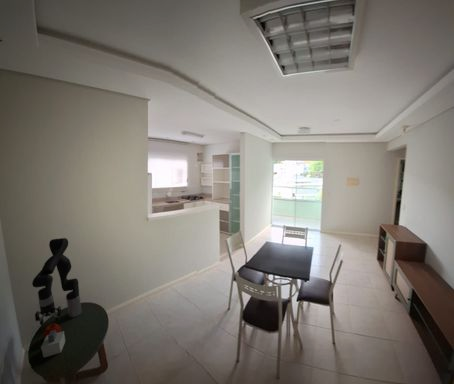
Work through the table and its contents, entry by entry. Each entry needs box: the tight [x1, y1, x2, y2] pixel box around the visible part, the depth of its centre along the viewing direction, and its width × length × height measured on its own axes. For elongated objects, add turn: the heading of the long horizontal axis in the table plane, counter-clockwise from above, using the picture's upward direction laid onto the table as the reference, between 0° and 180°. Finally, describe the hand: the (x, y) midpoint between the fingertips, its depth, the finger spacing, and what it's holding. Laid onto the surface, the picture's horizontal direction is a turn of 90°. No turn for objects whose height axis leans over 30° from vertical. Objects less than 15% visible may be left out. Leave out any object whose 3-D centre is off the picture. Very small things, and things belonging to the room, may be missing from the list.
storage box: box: [41, 333, 66, 358], centre depth 152 cm, size 10×10×8 cm
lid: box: [40, 330, 65, 349], centre depth 151 cm, size 11×11×7 cm
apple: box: [42, 323, 62, 340], centre depth 162 cm, size 11×11×11 cm
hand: (50, 322), depth 149 cm, fingers open, 8 cm apart
